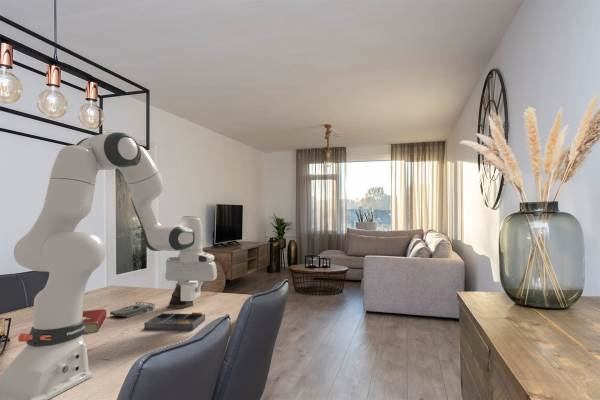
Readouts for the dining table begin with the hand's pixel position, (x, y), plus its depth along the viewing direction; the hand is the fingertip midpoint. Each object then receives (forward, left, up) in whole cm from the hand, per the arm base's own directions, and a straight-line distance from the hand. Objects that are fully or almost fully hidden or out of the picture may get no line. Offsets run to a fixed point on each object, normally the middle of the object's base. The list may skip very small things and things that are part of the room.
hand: (191, 291), depth 139 cm
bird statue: (+31, +15, -13) cm, 37 cm away
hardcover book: (-3, +42, -14) cm, 44 cm away
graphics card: (+15, +34, -14) cm, 40 cm away
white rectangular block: (0, 0, -2) cm, 2 cm away
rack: (0, +6, -13) cm, 14 cm away
